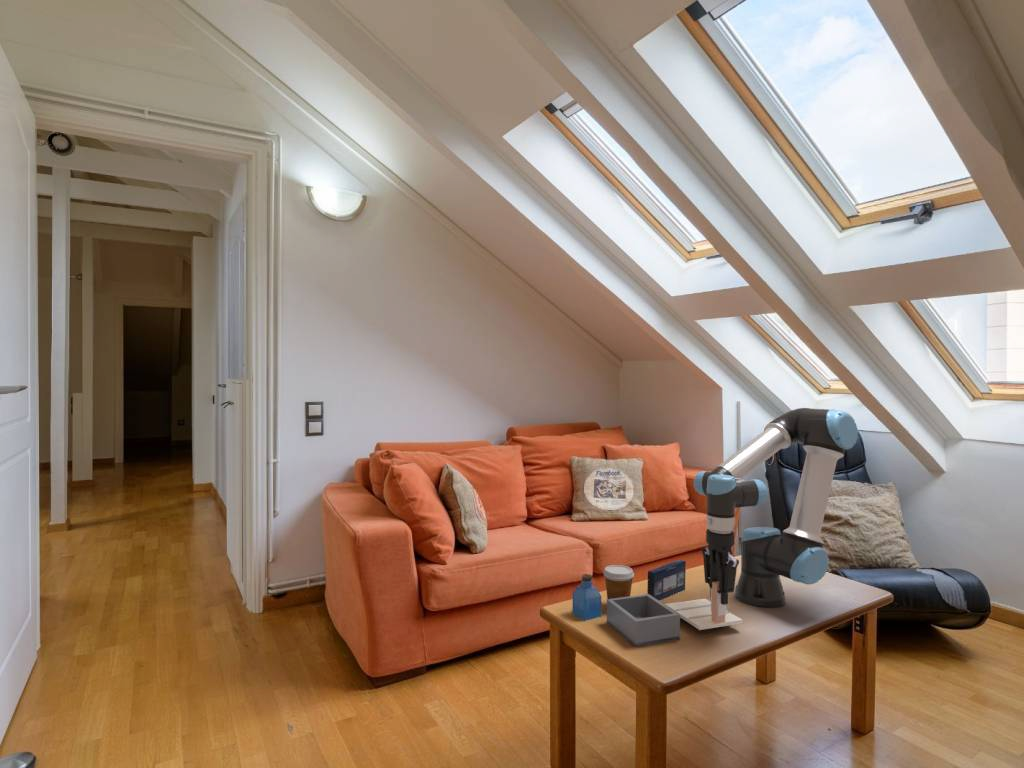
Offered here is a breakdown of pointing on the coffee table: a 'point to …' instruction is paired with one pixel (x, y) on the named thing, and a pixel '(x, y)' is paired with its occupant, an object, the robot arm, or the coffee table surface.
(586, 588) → the perfume bottle
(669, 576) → the vhs cassette tape
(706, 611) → the lid
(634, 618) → the tub
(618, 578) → the disposable coffee cup
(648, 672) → the coffee table surface
